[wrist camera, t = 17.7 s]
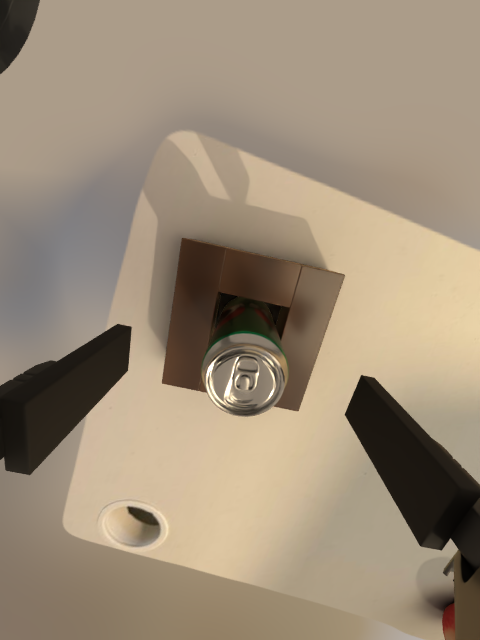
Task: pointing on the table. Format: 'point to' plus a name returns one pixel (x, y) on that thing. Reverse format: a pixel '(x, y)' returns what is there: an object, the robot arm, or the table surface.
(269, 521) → the table surface
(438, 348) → the table surface
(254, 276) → the holder
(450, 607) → the fruit
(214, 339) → the soda can
